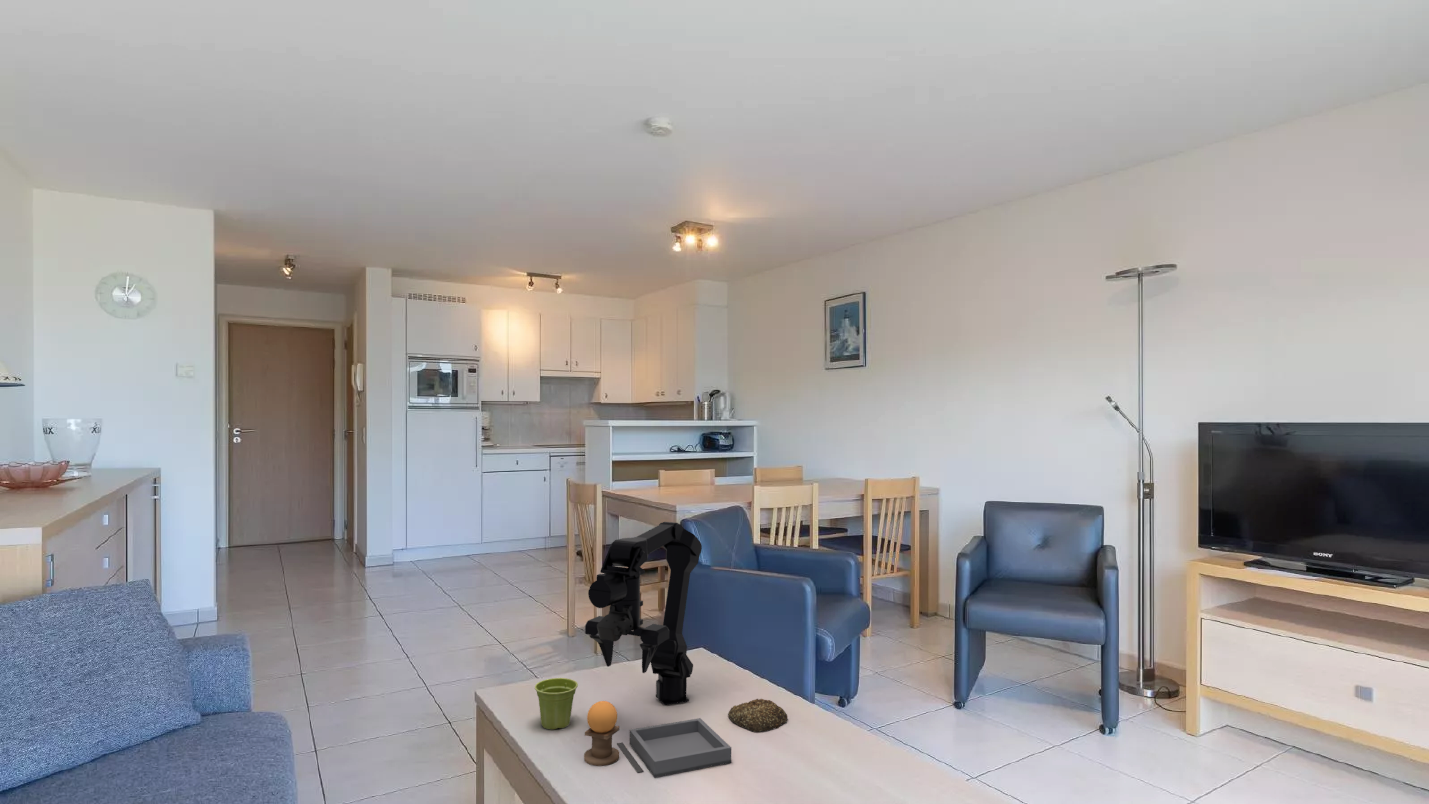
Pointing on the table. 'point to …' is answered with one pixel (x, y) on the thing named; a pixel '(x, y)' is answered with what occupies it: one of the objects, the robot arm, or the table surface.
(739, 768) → the table surface
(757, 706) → the brown speckled mound
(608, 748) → the tee
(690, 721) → the grey square tray
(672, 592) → the robot arm
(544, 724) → the plant pot
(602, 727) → the ball
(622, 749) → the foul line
